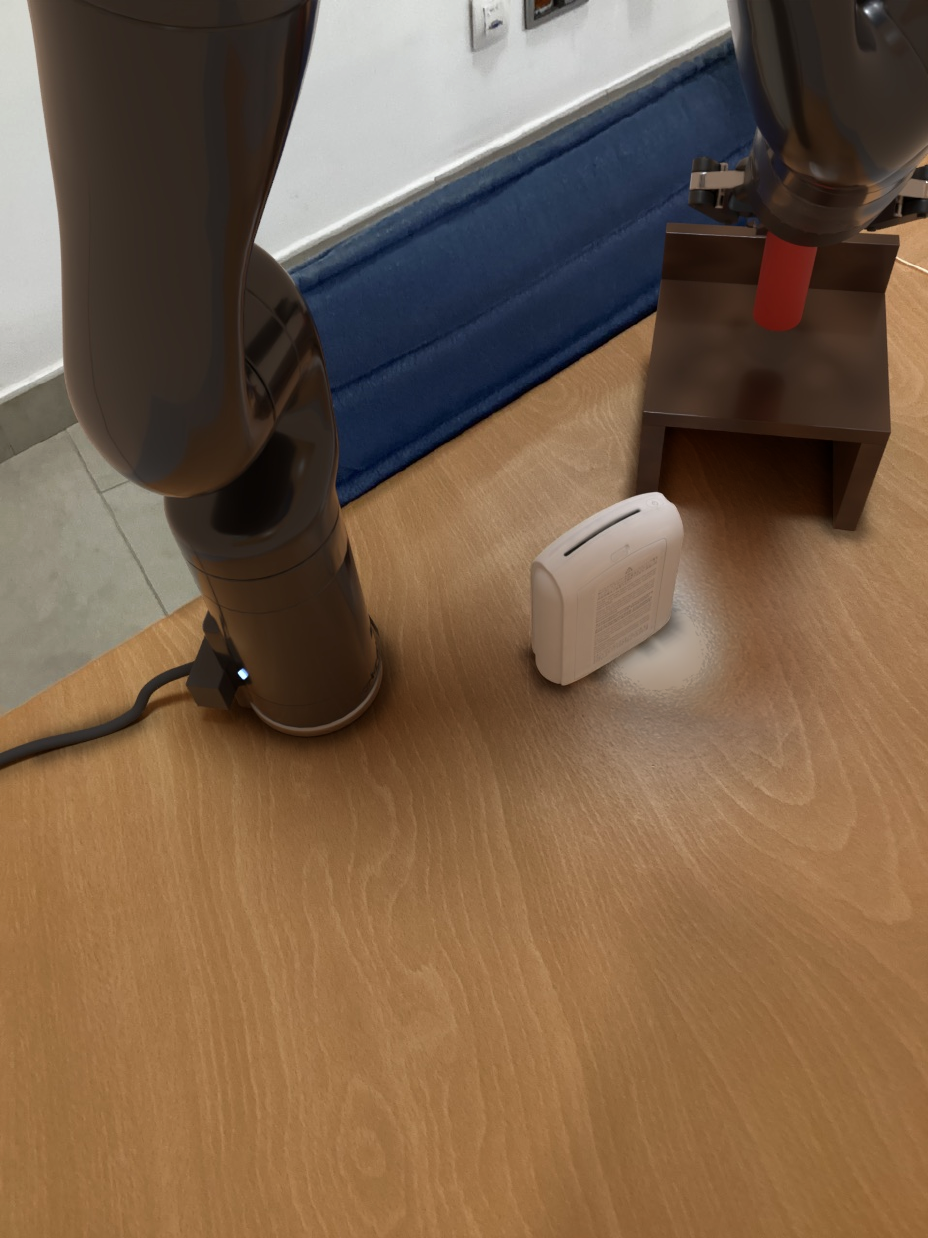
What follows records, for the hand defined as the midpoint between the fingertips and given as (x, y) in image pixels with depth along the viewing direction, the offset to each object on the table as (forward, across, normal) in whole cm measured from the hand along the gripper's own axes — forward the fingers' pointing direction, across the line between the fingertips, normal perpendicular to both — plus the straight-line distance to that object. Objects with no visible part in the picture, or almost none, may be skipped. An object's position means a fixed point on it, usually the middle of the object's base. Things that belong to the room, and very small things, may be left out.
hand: (792, 219), depth 68 cm
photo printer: (-1, +9, +28) cm, 30 cm away
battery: (+3, 0, +6) cm, 6 cm away
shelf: (+12, 0, +15) cm, 19 cm away
